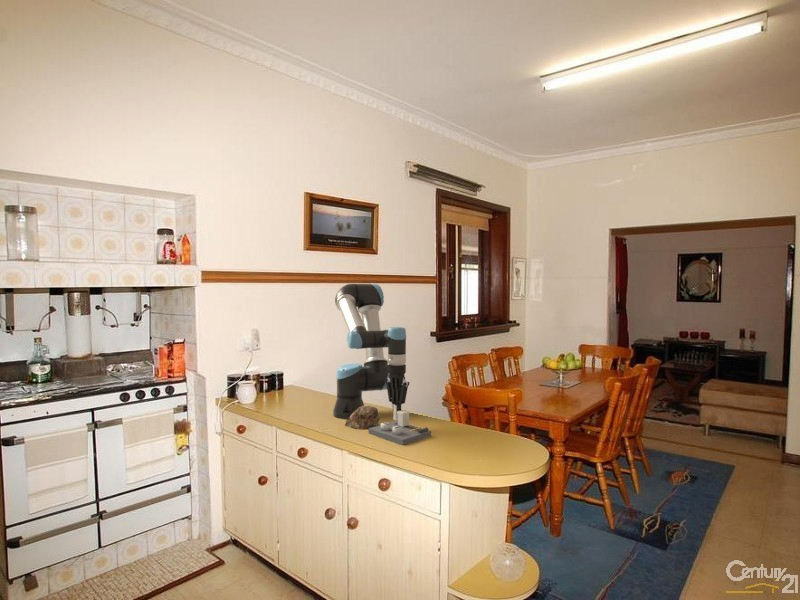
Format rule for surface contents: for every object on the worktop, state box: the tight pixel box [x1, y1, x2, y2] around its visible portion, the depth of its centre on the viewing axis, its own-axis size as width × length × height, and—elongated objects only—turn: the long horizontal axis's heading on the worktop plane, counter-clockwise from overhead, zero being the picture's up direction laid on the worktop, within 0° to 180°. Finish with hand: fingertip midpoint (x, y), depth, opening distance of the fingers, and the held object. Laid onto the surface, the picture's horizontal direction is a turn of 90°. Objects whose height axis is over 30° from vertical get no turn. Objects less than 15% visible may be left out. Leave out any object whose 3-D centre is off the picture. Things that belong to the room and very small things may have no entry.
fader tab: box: [397, 409, 411, 427], centre depth 199 cm, size 3×4×6 cm
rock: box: [344, 405, 381, 430], centre depth 205 cm, size 14×9×10 cm
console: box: [367, 420, 432, 446], centre depth 193 cm, size 20×16×5 cm
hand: (396, 419), depth 201 cm, fingers closed
